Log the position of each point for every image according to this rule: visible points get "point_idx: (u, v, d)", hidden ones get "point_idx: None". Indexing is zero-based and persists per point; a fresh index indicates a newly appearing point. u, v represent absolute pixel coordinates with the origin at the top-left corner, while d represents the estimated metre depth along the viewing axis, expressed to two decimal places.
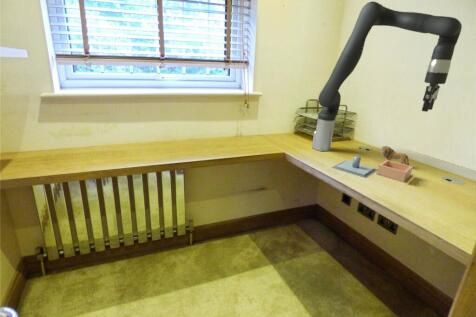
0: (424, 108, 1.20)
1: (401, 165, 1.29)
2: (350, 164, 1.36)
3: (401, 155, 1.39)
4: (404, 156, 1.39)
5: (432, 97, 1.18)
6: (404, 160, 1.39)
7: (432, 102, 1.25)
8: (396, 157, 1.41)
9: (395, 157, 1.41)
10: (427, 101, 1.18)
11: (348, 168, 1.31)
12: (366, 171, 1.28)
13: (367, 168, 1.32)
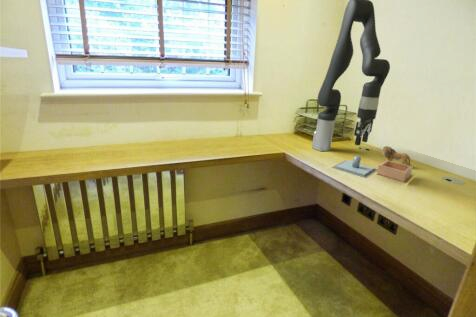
0: (356, 142, 1.25)
1: (401, 165, 1.29)
2: (350, 164, 1.36)
3: (402, 156, 1.39)
4: (405, 156, 1.39)
5: (363, 132, 1.24)
6: (405, 160, 1.39)
7: (366, 135, 1.31)
8: (397, 157, 1.41)
9: (396, 157, 1.41)
10: (358, 136, 1.23)
11: (348, 168, 1.31)
12: (366, 171, 1.28)
13: (367, 168, 1.32)
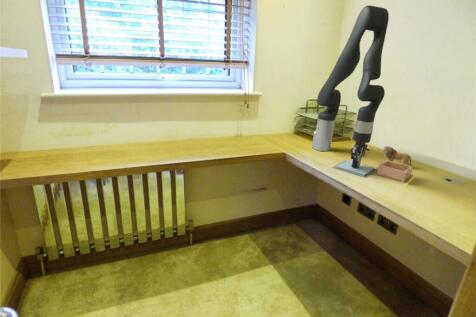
0: (353, 165, 1.31)
1: (401, 165, 1.29)
2: (350, 164, 1.36)
3: (404, 156, 1.39)
4: (407, 156, 1.38)
5: None
6: (407, 160, 1.39)
7: None
8: (398, 157, 1.41)
9: (397, 157, 1.41)
10: (354, 160, 1.29)
11: (348, 168, 1.31)
12: (366, 171, 1.28)
13: (367, 168, 1.32)
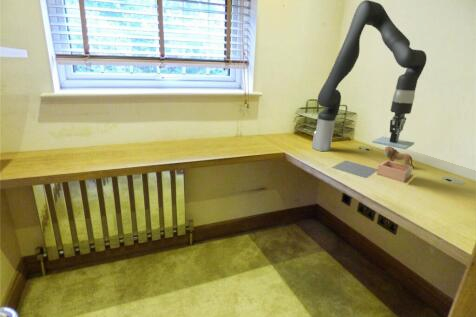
0: (391, 139, 1.21)
1: (401, 165, 1.29)
2: (387, 139, 1.26)
3: (405, 156, 1.39)
4: (408, 157, 1.38)
5: (398, 128, 1.19)
6: (408, 161, 1.38)
7: None
8: (400, 158, 1.40)
9: (399, 158, 1.41)
10: (394, 133, 1.19)
11: (386, 142, 1.21)
12: (407, 145, 1.18)
13: (406, 142, 1.22)
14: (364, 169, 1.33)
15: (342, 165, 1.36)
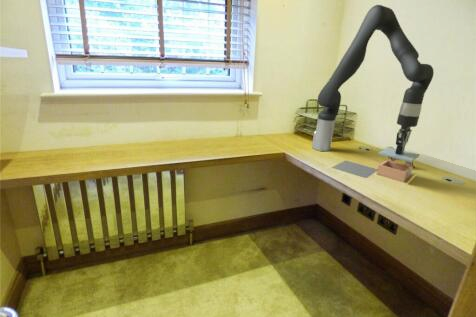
0: (397, 151, 1.23)
1: (401, 165, 1.29)
2: (392, 151, 1.28)
3: None
4: None
5: (404, 141, 1.20)
6: None
7: None
8: None
9: None
10: (400, 145, 1.20)
11: (392, 154, 1.22)
12: (412, 157, 1.20)
13: (412, 154, 1.24)
14: (364, 169, 1.33)
15: (342, 165, 1.36)
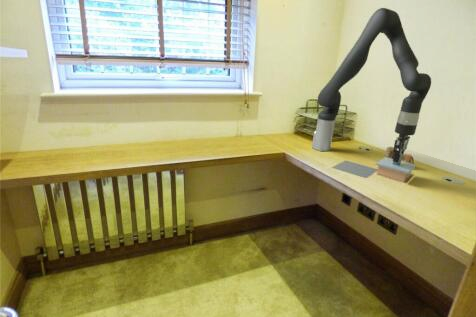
0: (395, 159, 1.23)
1: None
2: (390, 161, 1.29)
3: (406, 156, 1.39)
4: (409, 157, 1.38)
5: (402, 149, 1.21)
6: (409, 161, 1.38)
7: (402, 152, 1.26)
8: None
9: None
10: (397, 153, 1.21)
11: (389, 165, 1.24)
12: (409, 168, 1.22)
13: (408, 165, 1.26)
14: (364, 169, 1.33)
15: (342, 165, 1.36)
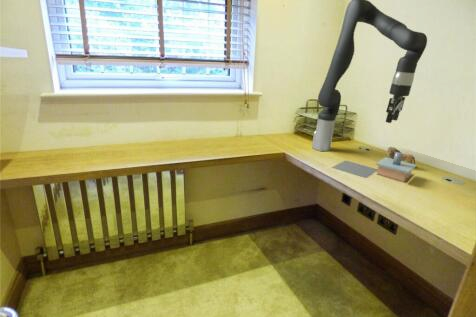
0: (387, 119, 1.22)
1: None
2: (390, 161, 1.29)
3: (407, 156, 1.38)
4: (410, 157, 1.38)
5: (395, 109, 1.20)
6: (410, 161, 1.38)
7: (397, 113, 1.27)
8: (402, 158, 1.40)
9: None
10: (390, 113, 1.19)
11: (389, 165, 1.24)
12: (409, 168, 1.22)
13: (408, 165, 1.26)
14: (364, 169, 1.33)
15: (342, 165, 1.36)
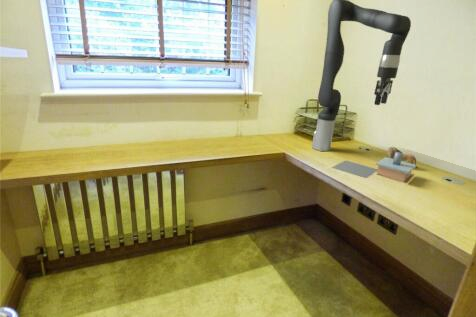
0: (376, 102, 1.25)
1: None
2: (390, 161, 1.29)
3: (408, 157, 1.38)
4: (411, 157, 1.38)
5: (383, 91, 1.23)
6: (411, 161, 1.38)
7: (386, 96, 1.30)
8: (403, 158, 1.40)
9: (402, 158, 1.40)
10: (378, 95, 1.23)
11: (389, 165, 1.24)
12: (409, 168, 1.22)
13: (408, 165, 1.26)
14: (364, 169, 1.33)
15: (342, 165, 1.36)
